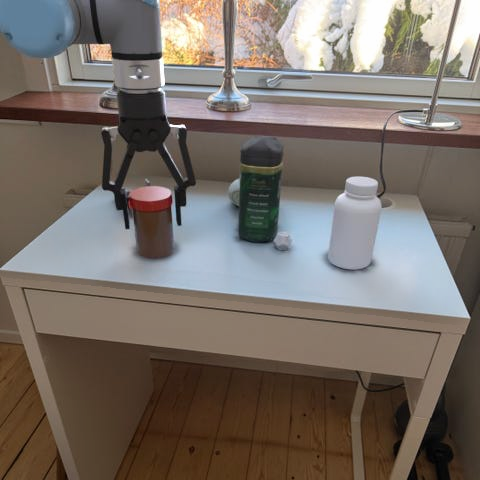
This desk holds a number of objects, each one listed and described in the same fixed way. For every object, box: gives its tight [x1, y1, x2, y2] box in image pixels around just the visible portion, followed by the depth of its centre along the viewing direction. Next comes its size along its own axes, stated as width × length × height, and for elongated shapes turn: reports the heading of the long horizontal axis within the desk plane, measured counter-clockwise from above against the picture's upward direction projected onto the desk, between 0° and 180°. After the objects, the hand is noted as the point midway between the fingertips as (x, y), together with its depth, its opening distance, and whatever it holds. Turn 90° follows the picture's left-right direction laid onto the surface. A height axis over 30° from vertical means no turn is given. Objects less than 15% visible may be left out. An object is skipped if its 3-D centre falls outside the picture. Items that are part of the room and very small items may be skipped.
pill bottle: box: [327, 175, 383, 271], centre depth 82 cm, size 8×8×15 cm
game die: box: [272, 231, 293, 251], centre depth 89 cm, size 4×4×3 cm
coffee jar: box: [237, 135, 285, 243], centre depth 90 cm, size 10×8×19 cm
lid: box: [129, 185, 174, 212], centre depth 83 cm, size 8×8×2 cm
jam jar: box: [131, 205, 175, 259], centre depth 85 cm, size 7×7×11 cm
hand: (153, 224), depth 85 cm, fingers open, 9 cm apart
